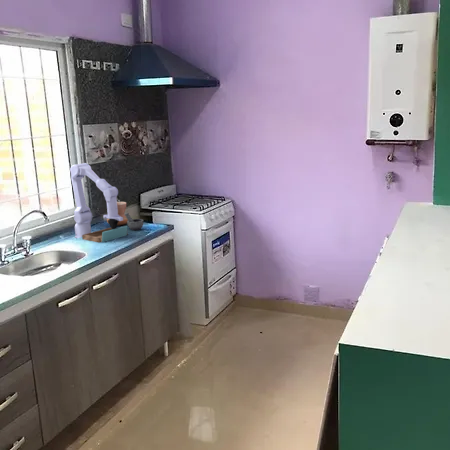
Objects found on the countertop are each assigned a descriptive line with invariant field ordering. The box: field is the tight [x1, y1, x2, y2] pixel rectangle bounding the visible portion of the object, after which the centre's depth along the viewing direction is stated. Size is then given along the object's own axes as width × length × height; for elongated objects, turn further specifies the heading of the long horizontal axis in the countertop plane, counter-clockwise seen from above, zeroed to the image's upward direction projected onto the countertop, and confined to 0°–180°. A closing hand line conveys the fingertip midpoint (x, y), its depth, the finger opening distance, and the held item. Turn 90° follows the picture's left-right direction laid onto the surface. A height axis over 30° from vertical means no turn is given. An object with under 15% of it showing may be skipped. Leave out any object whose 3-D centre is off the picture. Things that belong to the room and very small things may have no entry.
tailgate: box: [101, 225, 129, 243], centre depth 304 cm, size 1×18×6 cm, turn 142°
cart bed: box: [81, 227, 129, 244], centre depth 310 cm, size 15×21×4 cm
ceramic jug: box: [106, 201, 128, 226], centre depth 345 cm, size 18×14×14 cm
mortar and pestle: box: [124, 212, 144, 231], centre depth 325 cm, size 11×9×12 cm
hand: (114, 231), depth 304 cm, fingers closed, pressing on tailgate
